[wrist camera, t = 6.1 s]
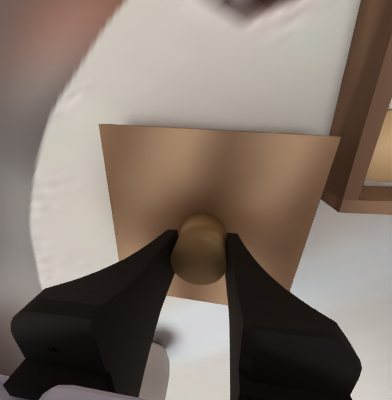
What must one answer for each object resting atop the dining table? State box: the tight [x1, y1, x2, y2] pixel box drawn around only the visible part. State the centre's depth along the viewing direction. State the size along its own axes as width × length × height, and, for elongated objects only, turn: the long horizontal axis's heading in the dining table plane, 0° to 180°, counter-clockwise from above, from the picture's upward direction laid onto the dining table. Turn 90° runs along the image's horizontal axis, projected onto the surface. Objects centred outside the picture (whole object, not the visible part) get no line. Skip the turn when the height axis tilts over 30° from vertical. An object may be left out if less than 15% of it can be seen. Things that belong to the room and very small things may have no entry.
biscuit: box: [366, 110, 392, 182], centre depth 12 cm, size 4×4×1 cm
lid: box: [99, 124, 341, 305], centre depth 11 cm, size 13×13×4 cm
